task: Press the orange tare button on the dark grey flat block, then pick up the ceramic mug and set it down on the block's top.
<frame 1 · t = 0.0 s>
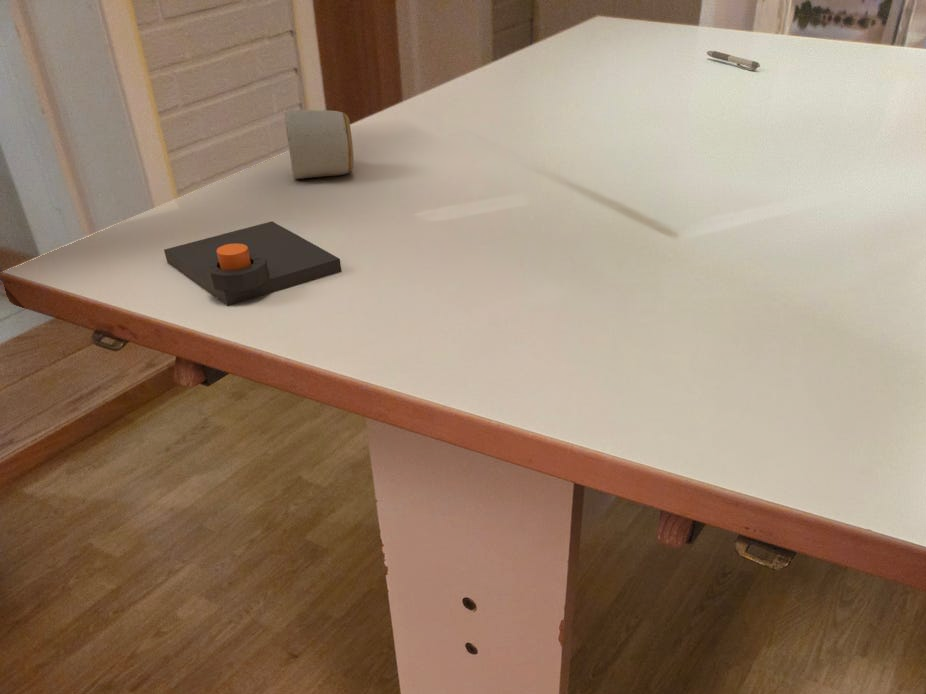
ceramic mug: (320, 174, 116), on the table
tare button: (234, 258, 85), point 3 cm above the table, slide at 0.1 cm
pen: (731, 66, 154), on the table
dark grey flat block: (252, 267, 92), on the table
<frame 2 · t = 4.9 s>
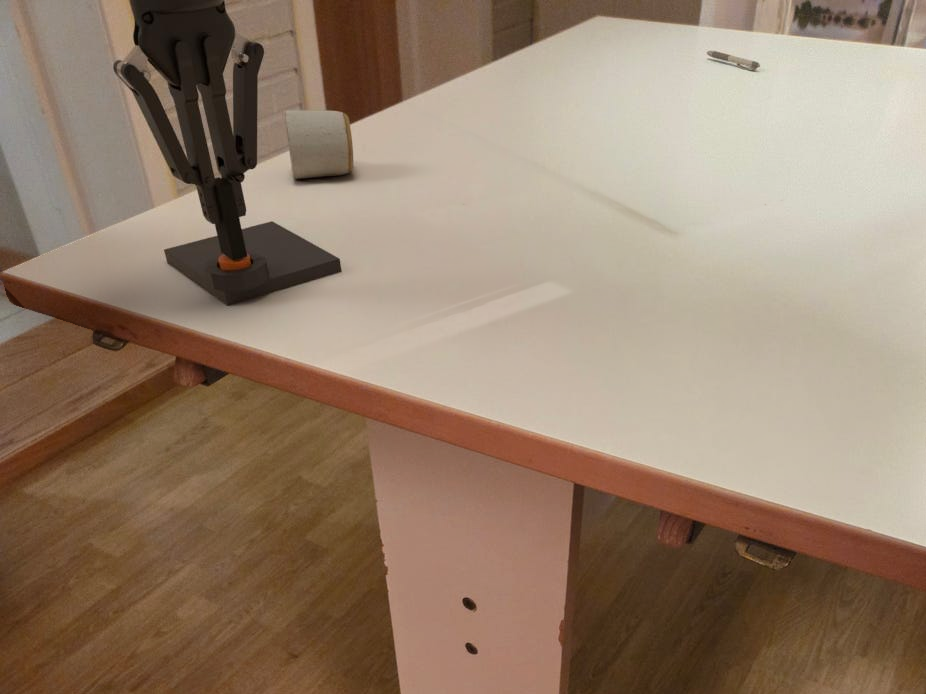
hand: (234, 254, 85), 4 cm above the table, tool pointing down, fingers closed
tare button: (235, 266, 85), point 3 cm above the table, slide at -0.7 cm, touching gripper
everything else where it was.
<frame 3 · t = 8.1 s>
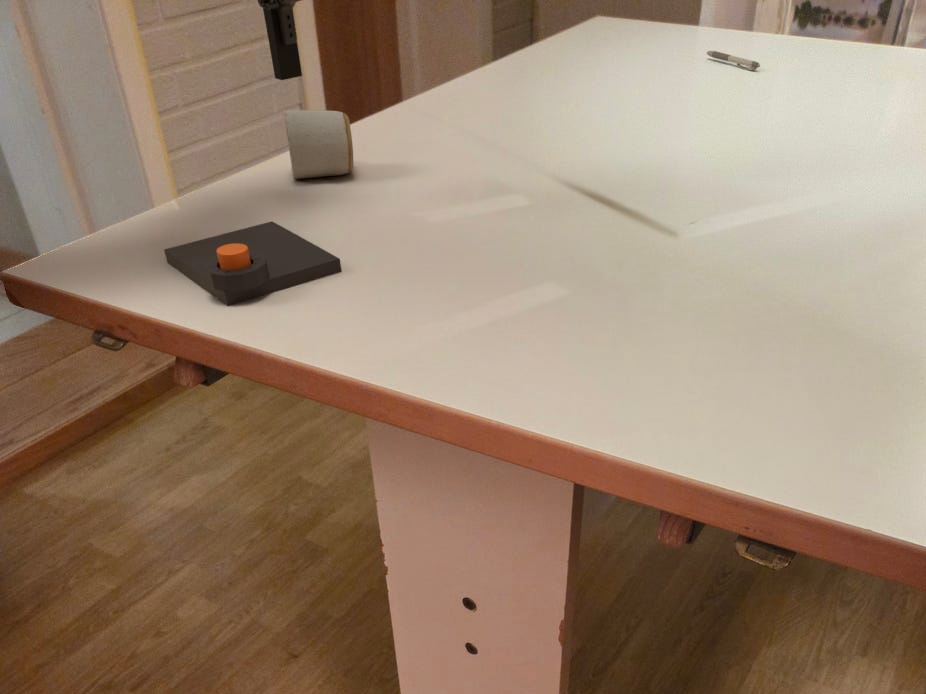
hand: (288, 76, 99), 13 cm above the table, tool pointing down, fingers closed
tare button: (234, 258, 85), point 3 cm above the table, slide at 0.1 cm
everything else where it was.
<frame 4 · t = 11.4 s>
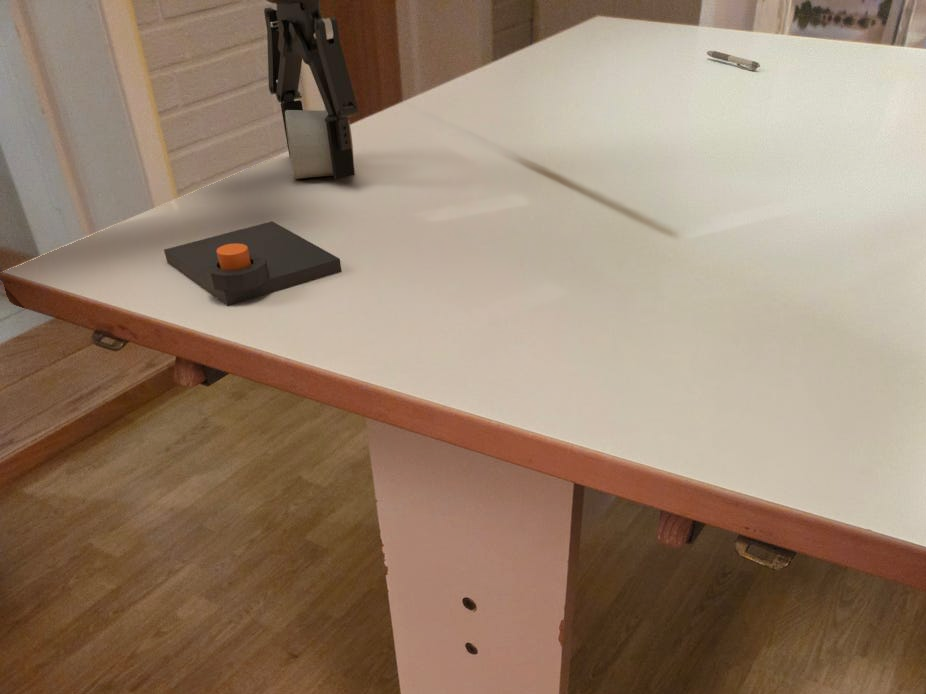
hand: (321, 166, 115), 1 cm above the table, tool pointing down, fingers closed on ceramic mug, 11 cm apart
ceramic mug: (320, 174, 116), on the table, touching gripper
everything else where it was.
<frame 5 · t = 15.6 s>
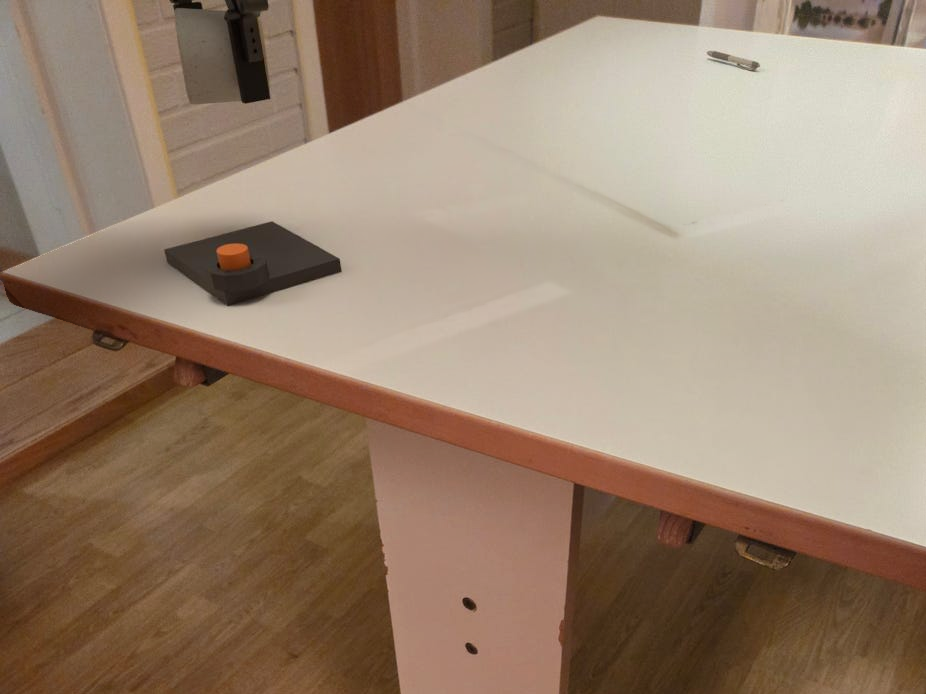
hand: (228, 90, 87), 15 cm above the table, tool pointing down, fingers closed on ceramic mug, 11 cm apart
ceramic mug: (228, 100, 88), point 14 cm above the table, touching gripper
everything else where it was.
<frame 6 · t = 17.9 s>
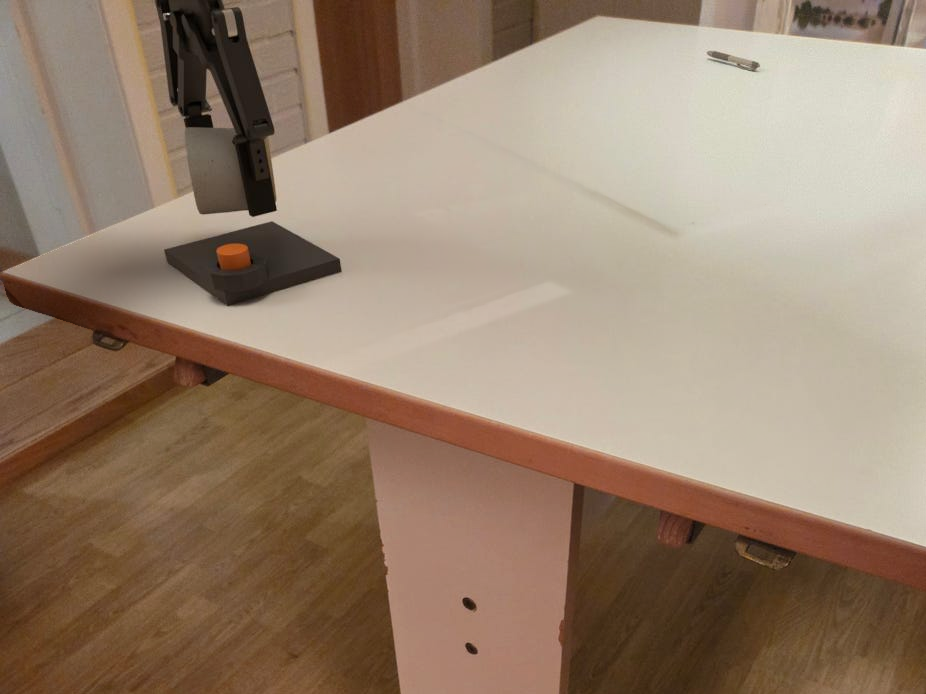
hand: (237, 198, 90), 6 cm above the table, tool pointing down, fingers closed on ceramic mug, 11 cm apart
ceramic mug: (237, 207, 91), point 5 cm above the table, touching gripper
everything else where it was.
when the fingers open (2 cm above the table, at t = 19.7 s): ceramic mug stays where it is, resting on dark grey flat block.
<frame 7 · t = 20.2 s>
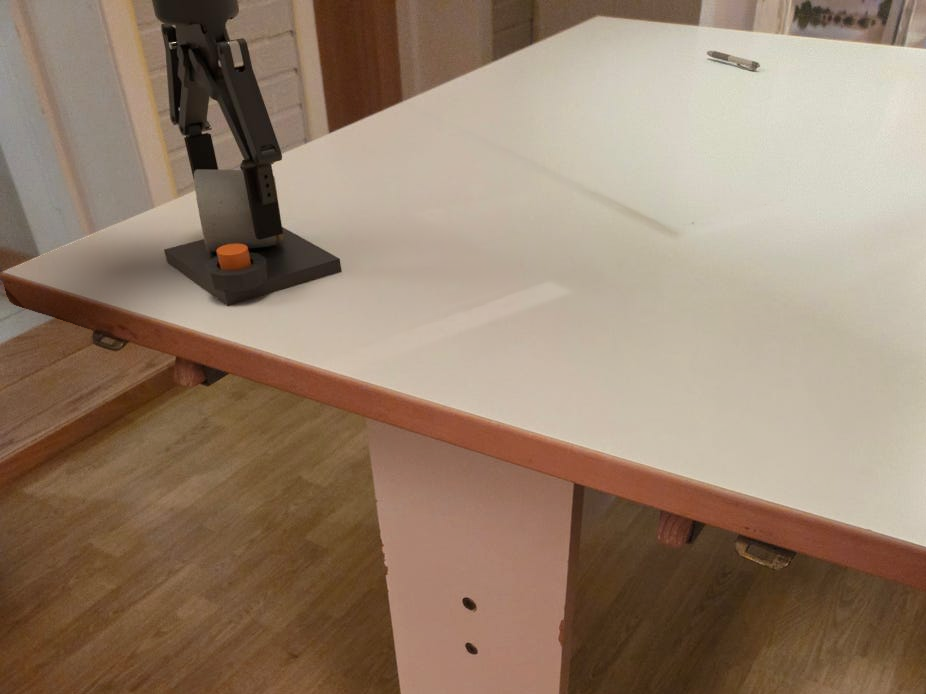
hand: (239, 218, 92), 4 cm above the table, tool pointing down, fingers open, 13 cm apart
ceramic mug: (244, 244, 94), point 1 cm above the table, touching dark grey flat block
everything else where it was.
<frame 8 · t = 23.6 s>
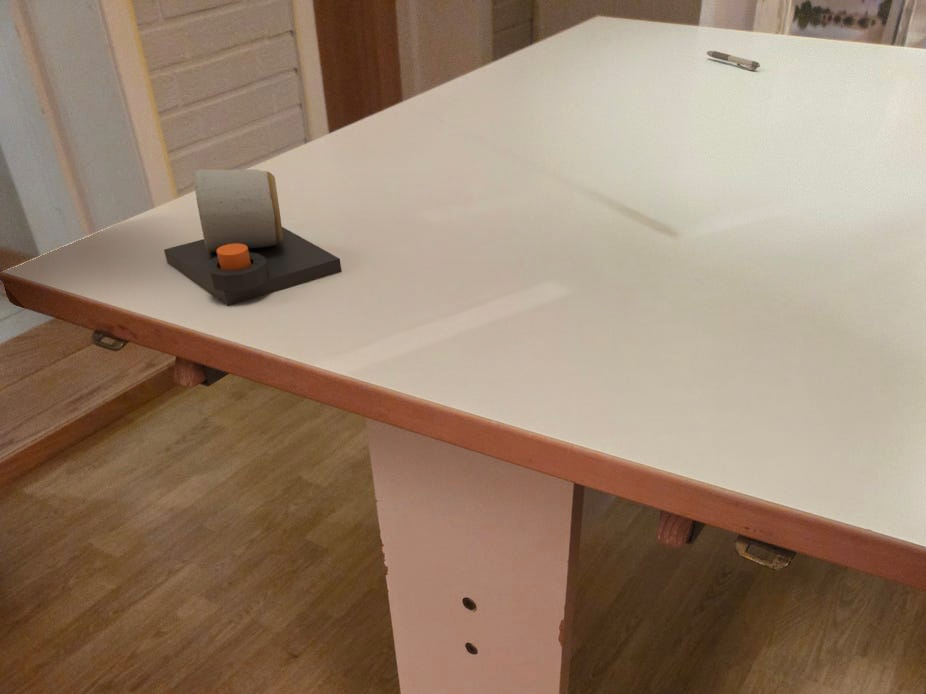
nothing on the table moved.
at the end: tare button pushed in 0.8 cm at the most during the clip, back to where it started at the end; tare button slide at 0.1 cm; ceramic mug inside the target area on the dark grey flat block (0.6 cm from its centre), point 1.2 cm above the dark grey flat block's base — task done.
